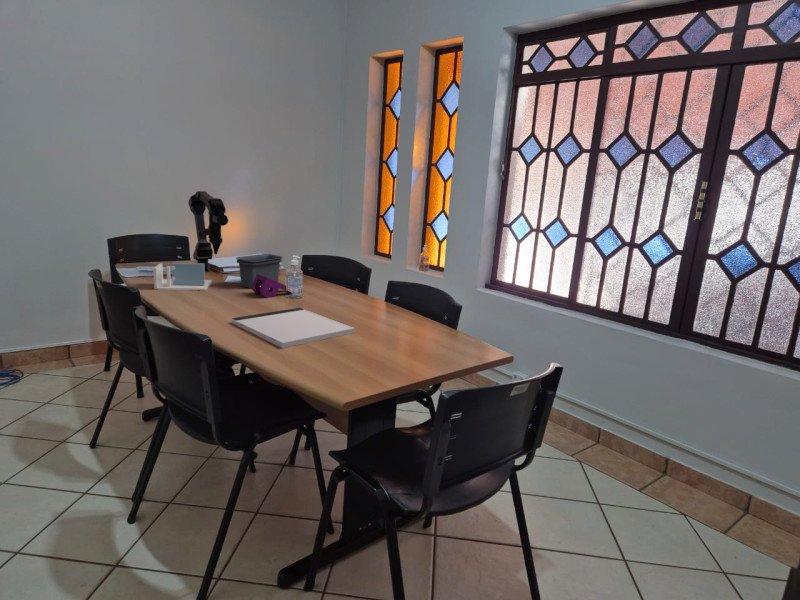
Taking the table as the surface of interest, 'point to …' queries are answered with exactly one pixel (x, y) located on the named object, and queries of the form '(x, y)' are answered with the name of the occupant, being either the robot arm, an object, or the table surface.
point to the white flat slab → (292, 327)
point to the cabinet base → (167, 283)
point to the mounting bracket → (266, 286)
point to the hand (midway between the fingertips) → (215, 254)
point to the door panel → (188, 274)
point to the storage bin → (258, 267)
